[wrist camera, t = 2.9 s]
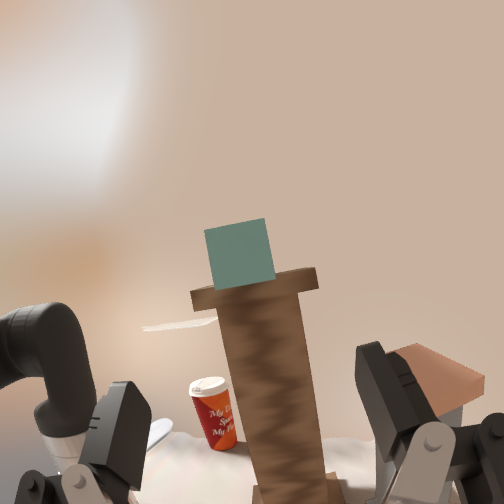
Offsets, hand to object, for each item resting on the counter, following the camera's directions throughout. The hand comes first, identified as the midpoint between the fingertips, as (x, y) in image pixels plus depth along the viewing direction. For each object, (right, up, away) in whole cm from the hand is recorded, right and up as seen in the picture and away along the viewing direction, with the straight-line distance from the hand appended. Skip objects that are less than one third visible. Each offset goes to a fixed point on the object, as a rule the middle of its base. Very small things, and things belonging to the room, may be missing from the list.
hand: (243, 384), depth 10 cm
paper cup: (-5, -33, +42) cm, 54 cm away
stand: (+7, -30, +21) cm, 37 cm away
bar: (0, +2, +22) cm, 22 cm away
